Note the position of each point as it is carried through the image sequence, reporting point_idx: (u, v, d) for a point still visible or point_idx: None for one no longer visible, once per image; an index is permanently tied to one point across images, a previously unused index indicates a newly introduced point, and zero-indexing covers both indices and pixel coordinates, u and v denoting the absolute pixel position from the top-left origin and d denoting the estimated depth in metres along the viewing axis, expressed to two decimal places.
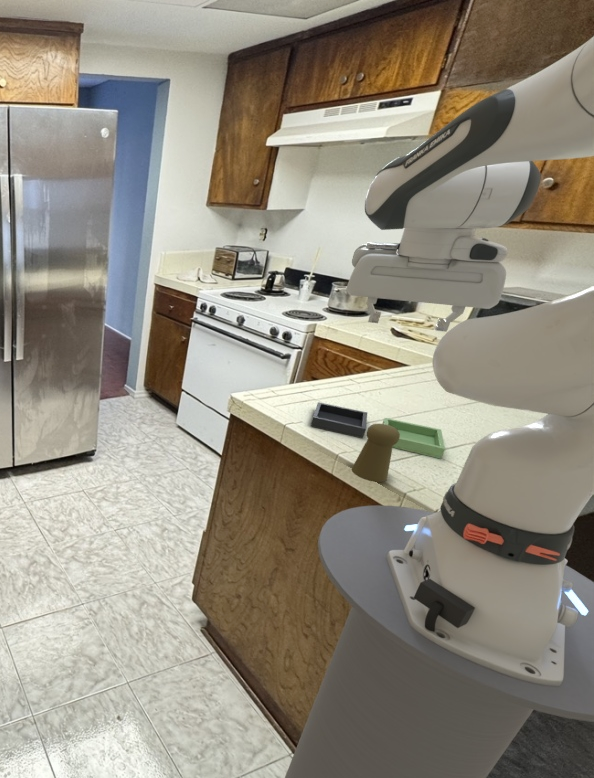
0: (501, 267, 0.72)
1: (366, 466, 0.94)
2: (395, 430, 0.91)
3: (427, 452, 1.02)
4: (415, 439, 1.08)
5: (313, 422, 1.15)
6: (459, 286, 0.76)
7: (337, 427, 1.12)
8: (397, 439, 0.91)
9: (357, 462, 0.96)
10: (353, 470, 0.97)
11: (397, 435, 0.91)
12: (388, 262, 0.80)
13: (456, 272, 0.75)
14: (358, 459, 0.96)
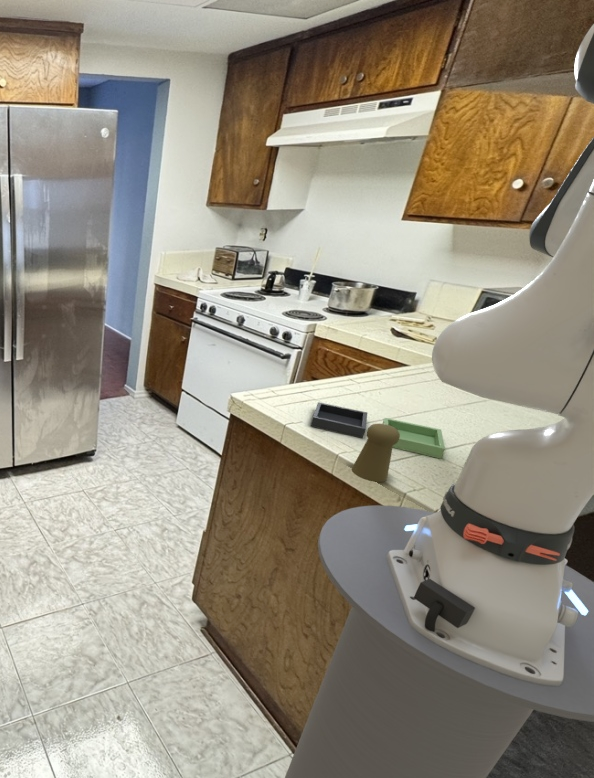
0: None
1: (366, 466, 0.94)
2: (395, 430, 0.91)
3: (427, 452, 1.02)
4: (415, 439, 1.08)
5: (313, 422, 1.15)
6: None
7: (337, 427, 1.12)
8: (397, 439, 0.91)
9: (357, 462, 0.96)
10: (353, 470, 0.97)
11: (397, 435, 0.91)
12: None
13: None
14: (358, 459, 0.96)
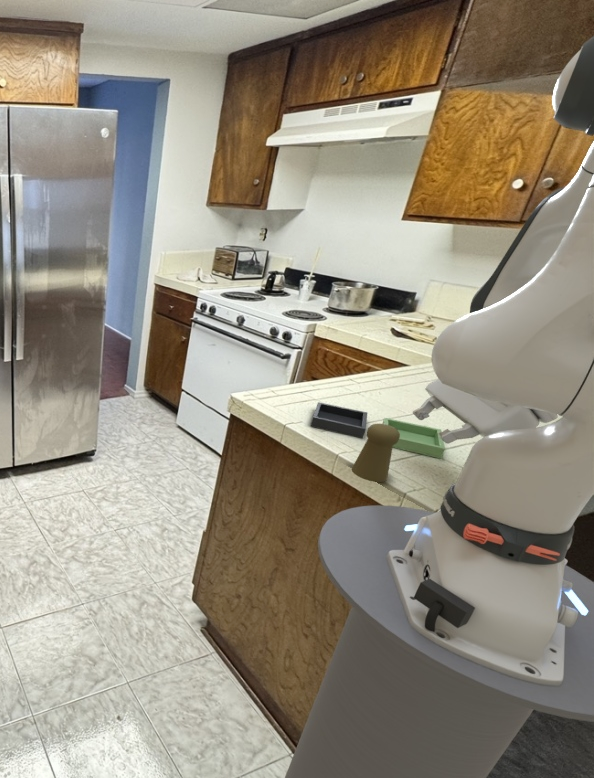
0: None
1: (366, 466, 0.94)
2: (395, 430, 0.91)
3: (427, 452, 1.02)
4: (415, 439, 1.08)
5: (313, 422, 1.15)
6: (485, 408, 0.82)
7: (337, 427, 1.12)
8: (397, 439, 0.91)
9: (357, 462, 0.96)
10: (353, 470, 0.97)
11: (397, 435, 0.91)
12: None
13: (496, 400, 0.82)
14: (358, 459, 0.96)
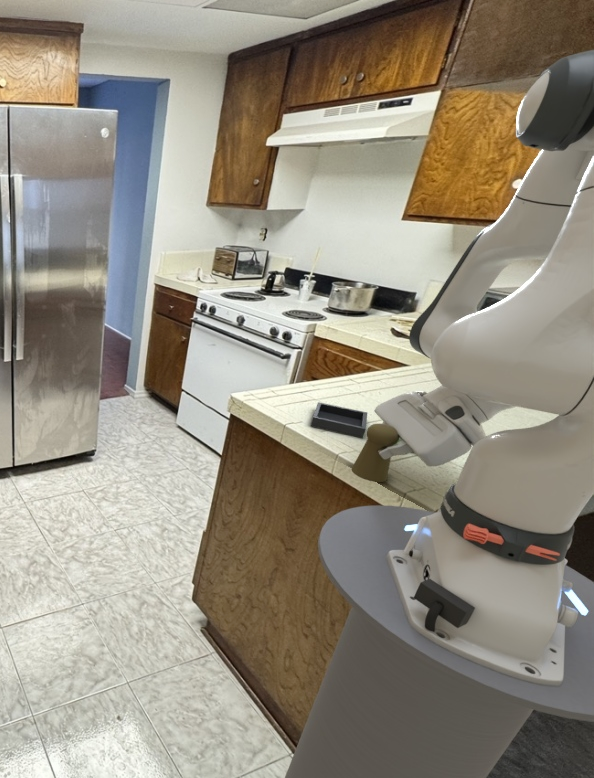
0: (454, 429, 0.81)
1: (366, 466, 0.94)
2: (395, 430, 0.91)
3: None
4: None
5: (313, 422, 1.15)
6: (423, 432, 0.86)
7: (337, 427, 1.12)
8: (397, 439, 0.91)
9: (357, 462, 0.96)
10: (353, 470, 0.97)
11: (397, 435, 0.91)
12: (413, 400, 0.94)
13: (433, 425, 0.86)
14: (358, 459, 0.96)
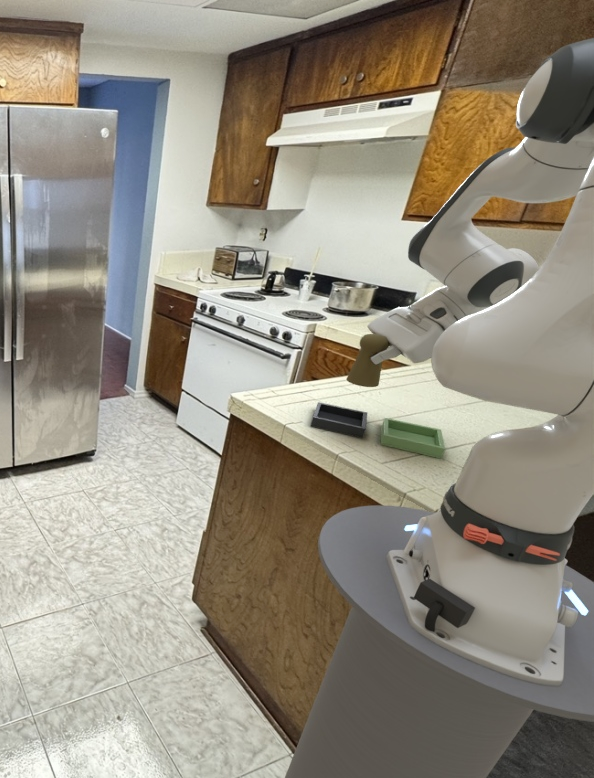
0: (437, 327, 0.90)
1: (359, 373, 1.04)
2: (385, 337, 1.00)
3: (427, 452, 1.02)
4: (415, 439, 1.08)
5: (313, 422, 1.15)
6: (410, 334, 0.95)
7: (337, 427, 1.12)
8: (387, 345, 1.00)
9: (351, 371, 1.05)
10: (348, 379, 1.06)
11: (387, 341, 1.00)
12: (402, 312, 1.03)
13: (419, 328, 0.95)
14: (352, 368, 1.05)
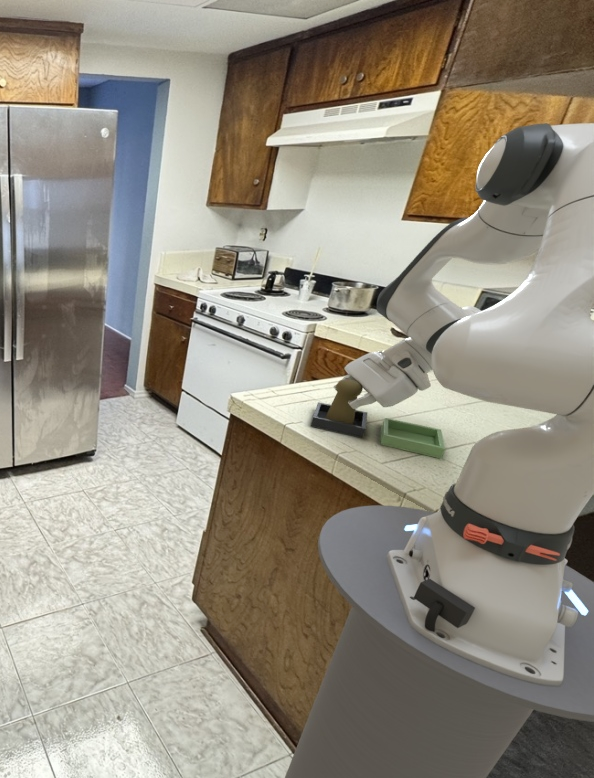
0: (403, 375, 1.01)
1: (335, 414, 1.14)
2: (358, 383, 1.11)
3: (427, 452, 1.02)
4: (415, 439, 1.08)
5: (313, 422, 1.15)
6: (380, 380, 1.06)
7: (337, 427, 1.12)
8: (360, 391, 1.10)
9: (329, 412, 1.16)
10: None
11: (360, 387, 1.10)
12: (375, 358, 1.13)
13: (389, 374, 1.06)
14: (329, 409, 1.16)
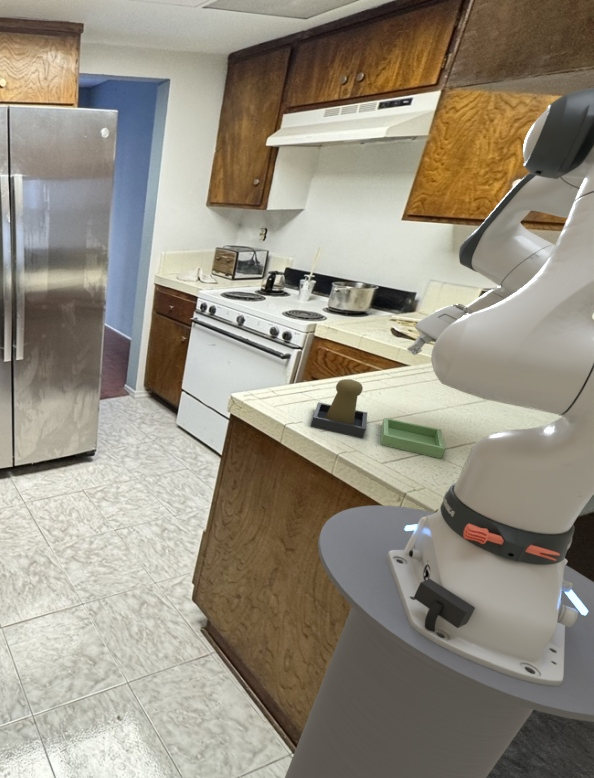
0: None
1: (335, 414, 1.14)
2: (358, 383, 1.11)
3: (427, 452, 1.02)
4: (415, 439, 1.08)
5: (313, 422, 1.15)
6: None
7: (337, 427, 1.12)
8: (360, 391, 1.10)
9: (329, 412, 1.16)
10: None
11: (360, 387, 1.10)
12: (453, 313, 1.04)
13: None
14: (329, 409, 1.16)
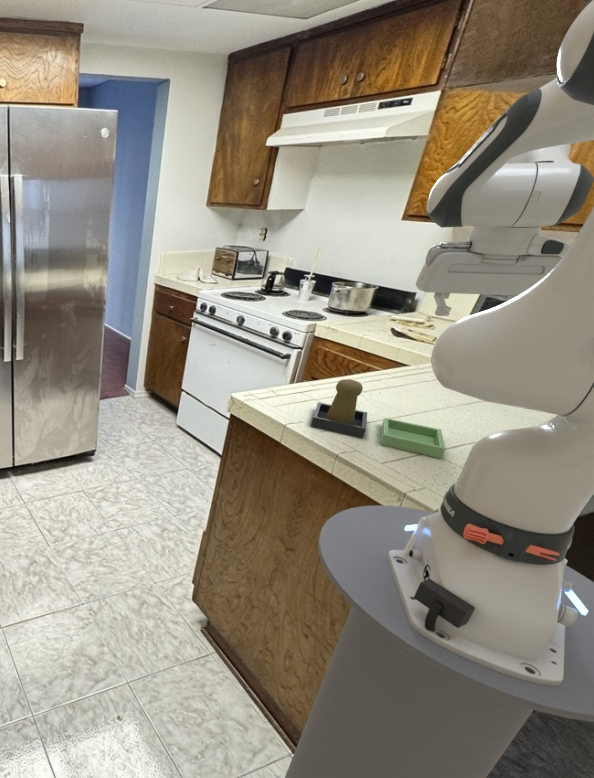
0: None
1: (335, 414, 1.14)
2: (359, 383, 1.11)
3: (427, 452, 1.02)
4: (415, 439, 1.08)
5: (313, 422, 1.15)
6: (524, 278, 0.84)
7: (337, 427, 1.12)
8: (360, 391, 1.10)
9: (329, 412, 1.16)
10: None
11: (360, 387, 1.10)
12: (465, 260, 0.86)
13: (522, 266, 0.84)
14: (329, 409, 1.16)
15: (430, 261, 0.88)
